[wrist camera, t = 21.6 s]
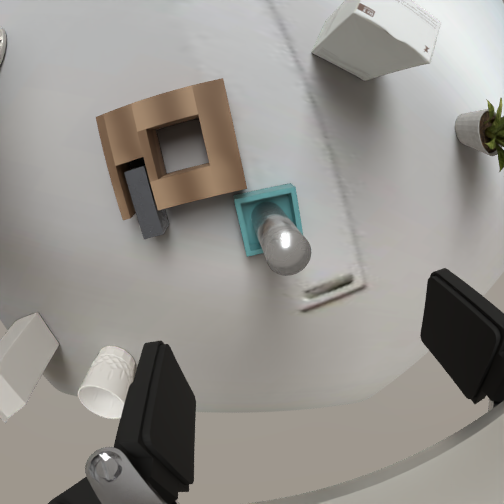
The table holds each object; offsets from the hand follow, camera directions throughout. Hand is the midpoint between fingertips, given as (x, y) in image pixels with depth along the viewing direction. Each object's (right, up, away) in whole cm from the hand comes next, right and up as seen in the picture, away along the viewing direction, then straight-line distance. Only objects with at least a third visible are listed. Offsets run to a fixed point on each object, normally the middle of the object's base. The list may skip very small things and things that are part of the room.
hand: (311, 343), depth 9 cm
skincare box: (+10, +29, +20) cm, 36 cm away
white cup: (-25, -15, +34) cm, 45 cm away
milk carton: (-40, -11, +31) cm, 52 cm away
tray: (0, +7, +28) cm, 29 cm away
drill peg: (0, +7, +27) cm, 28 cm away
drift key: (-14, +10, +25) cm, 31 cm away
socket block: (-10, +16, +23) cm, 30 cm away
